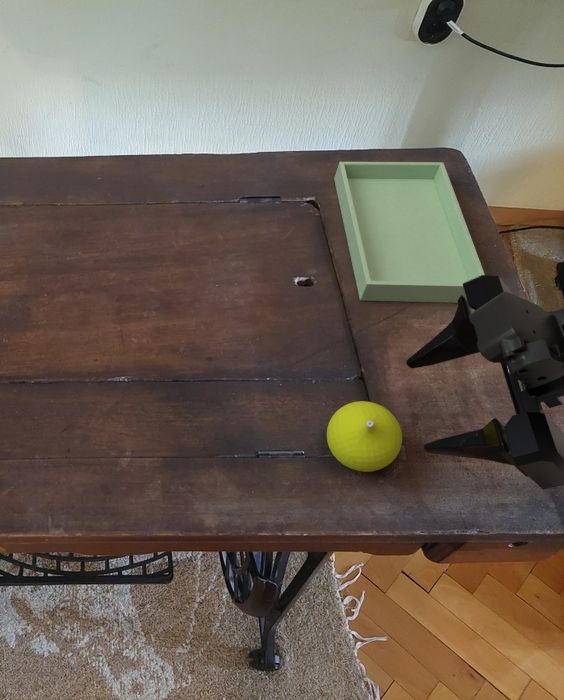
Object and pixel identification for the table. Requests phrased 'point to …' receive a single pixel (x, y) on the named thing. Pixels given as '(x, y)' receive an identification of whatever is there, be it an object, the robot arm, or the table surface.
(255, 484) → the table surface
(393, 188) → the pale green tray
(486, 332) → the robot arm
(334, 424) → the ornament
